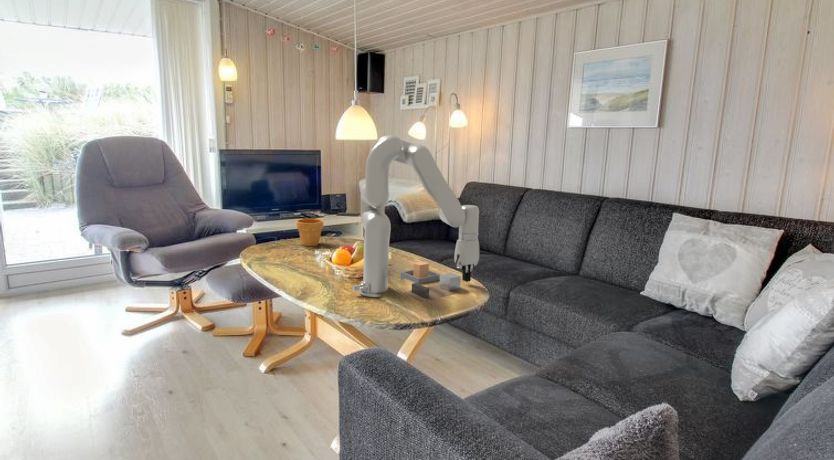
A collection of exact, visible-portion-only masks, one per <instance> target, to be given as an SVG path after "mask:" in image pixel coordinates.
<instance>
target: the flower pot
mask: <svg viewBox="0 0 834 460" xmlns="http://www.w3.org/2000/svg"><path fill="white" fill-rule="evenodd" d="M295 223H296V229H297V230H298V234H299V238H300V242H301V243H300V244H301V245H302V246H305V247H315V246H318V245H319V243H320V240H321V234H322V229H324V220H323V219H320V218H300V219H297V220H296V222H295Z"/></svg>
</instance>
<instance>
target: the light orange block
mask: <svg viewBox="0 0 834 460" xmlns="http://www.w3.org/2000/svg"><path fill="white" fill-rule="evenodd" d="M429 269H430V264H429V263H428V262H426V261H425V262H424V261H418V262H413V269H412V270H413V276H414V277H417V278H423V277H428V274H429Z"/></svg>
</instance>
